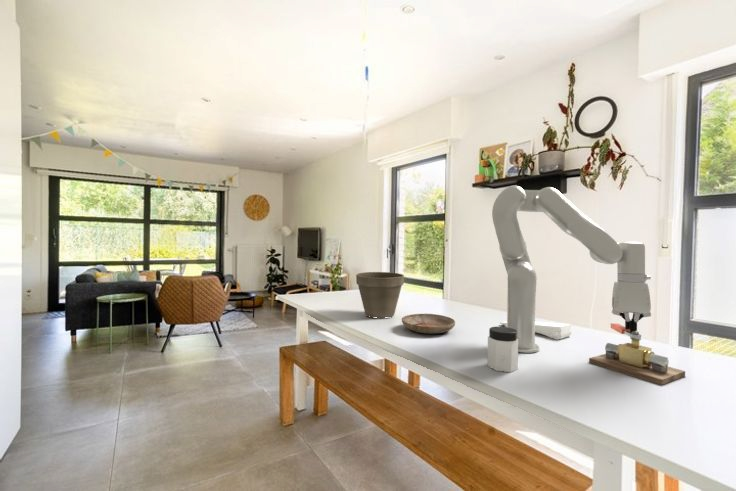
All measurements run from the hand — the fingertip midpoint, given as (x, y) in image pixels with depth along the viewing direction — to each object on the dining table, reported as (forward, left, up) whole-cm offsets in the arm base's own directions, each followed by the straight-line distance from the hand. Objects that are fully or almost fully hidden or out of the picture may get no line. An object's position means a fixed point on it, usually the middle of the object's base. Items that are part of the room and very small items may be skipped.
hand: (631, 332), depth 120 cm
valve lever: (-4, -1, 0) cm, 5 cm away
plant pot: (-43, +96, -9) cm, 105 cm away
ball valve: (-9, -5, -8) cm, 13 cm away
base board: (-9, -5, -9) cm, 14 cm away
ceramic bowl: (-38, +62, -10) cm, 73 cm away
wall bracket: (+3, +40, -10) cm, 41 cm away
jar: (-45, +15, -9) cm, 48 cm away
